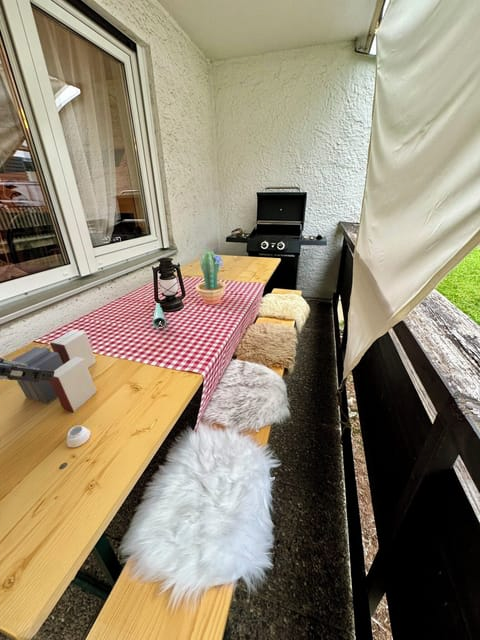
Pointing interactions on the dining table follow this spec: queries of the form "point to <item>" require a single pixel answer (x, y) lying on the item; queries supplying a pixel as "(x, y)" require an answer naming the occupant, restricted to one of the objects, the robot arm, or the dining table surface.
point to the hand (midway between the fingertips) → (38, 372)
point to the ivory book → (73, 384)
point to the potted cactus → (211, 279)
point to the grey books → (43, 361)
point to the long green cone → (158, 317)
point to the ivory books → (74, 347)
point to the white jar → (77, 436)
